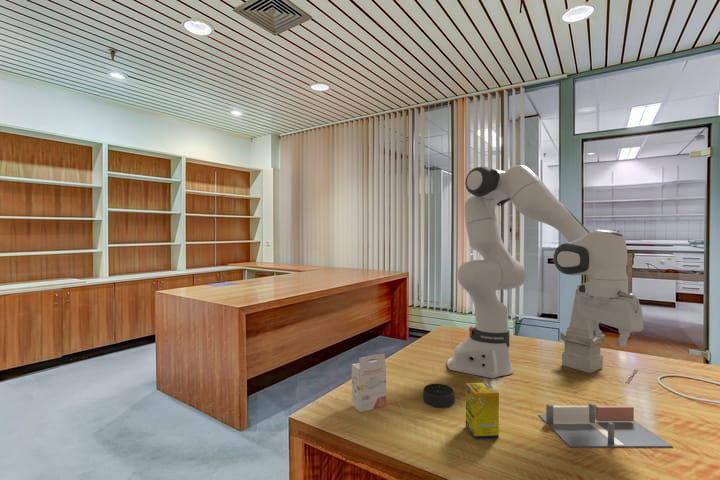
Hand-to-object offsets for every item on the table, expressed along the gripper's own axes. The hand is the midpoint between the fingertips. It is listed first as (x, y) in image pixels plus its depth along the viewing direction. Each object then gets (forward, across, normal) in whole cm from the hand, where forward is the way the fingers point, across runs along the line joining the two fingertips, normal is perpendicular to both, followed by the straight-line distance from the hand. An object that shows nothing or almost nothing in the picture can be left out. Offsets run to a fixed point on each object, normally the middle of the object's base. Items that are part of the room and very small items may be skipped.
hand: (608, 341), depth 98 cm
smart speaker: (+19, +7, +44) cm, 49 cm away
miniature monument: (+19, +35, -15) cm, 42 cm away
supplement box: (+19, -9, +38) cm, 43 cm away
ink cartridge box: (+19, +6, +64) cm, 67 cm away
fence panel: (+18, -6, +3) cm, 20 cm away
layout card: (+19, -9, +9) cm, 23 cm away
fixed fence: (+19, -10, +14) cm, 26 cm away
